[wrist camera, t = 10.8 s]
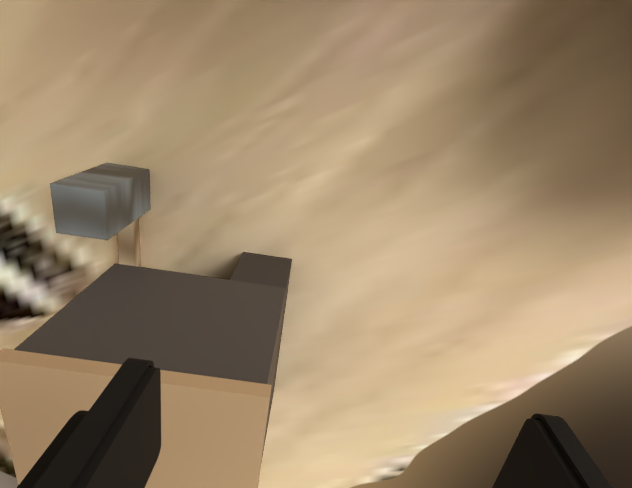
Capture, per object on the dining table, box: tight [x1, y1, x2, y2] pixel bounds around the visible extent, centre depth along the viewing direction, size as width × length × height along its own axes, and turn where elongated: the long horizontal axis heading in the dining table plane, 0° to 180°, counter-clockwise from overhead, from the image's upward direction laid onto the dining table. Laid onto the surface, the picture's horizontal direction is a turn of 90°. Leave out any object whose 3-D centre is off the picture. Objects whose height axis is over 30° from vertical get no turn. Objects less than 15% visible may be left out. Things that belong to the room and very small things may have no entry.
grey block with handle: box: [50, 163, 150, 267], centre depth 37 cm, size 23×4×8 cm, turn 172°
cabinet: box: [0, 252, 292, 488], centre depth 34 cm, size 19×16×19 cm
